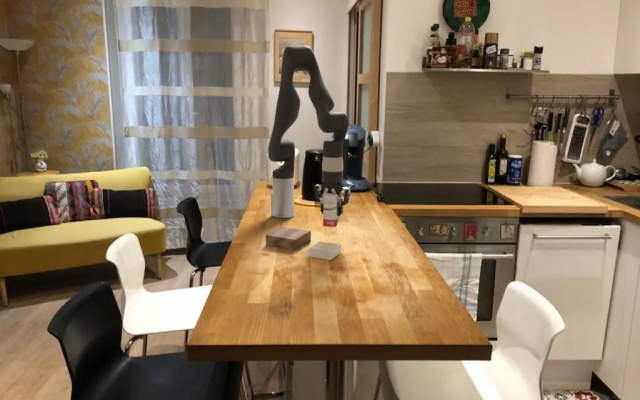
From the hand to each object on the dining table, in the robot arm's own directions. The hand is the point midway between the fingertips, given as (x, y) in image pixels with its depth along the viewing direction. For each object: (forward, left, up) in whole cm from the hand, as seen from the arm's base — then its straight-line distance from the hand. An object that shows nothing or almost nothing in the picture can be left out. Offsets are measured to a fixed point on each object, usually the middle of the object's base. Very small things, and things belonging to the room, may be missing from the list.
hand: (331, 214), depth 188 cm
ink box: (0, 0, -4) cm, 4 cm away
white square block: (+4, -14, -10) cm, 18 cm away
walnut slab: (-13, -9, -10) cm, 19 cm away
